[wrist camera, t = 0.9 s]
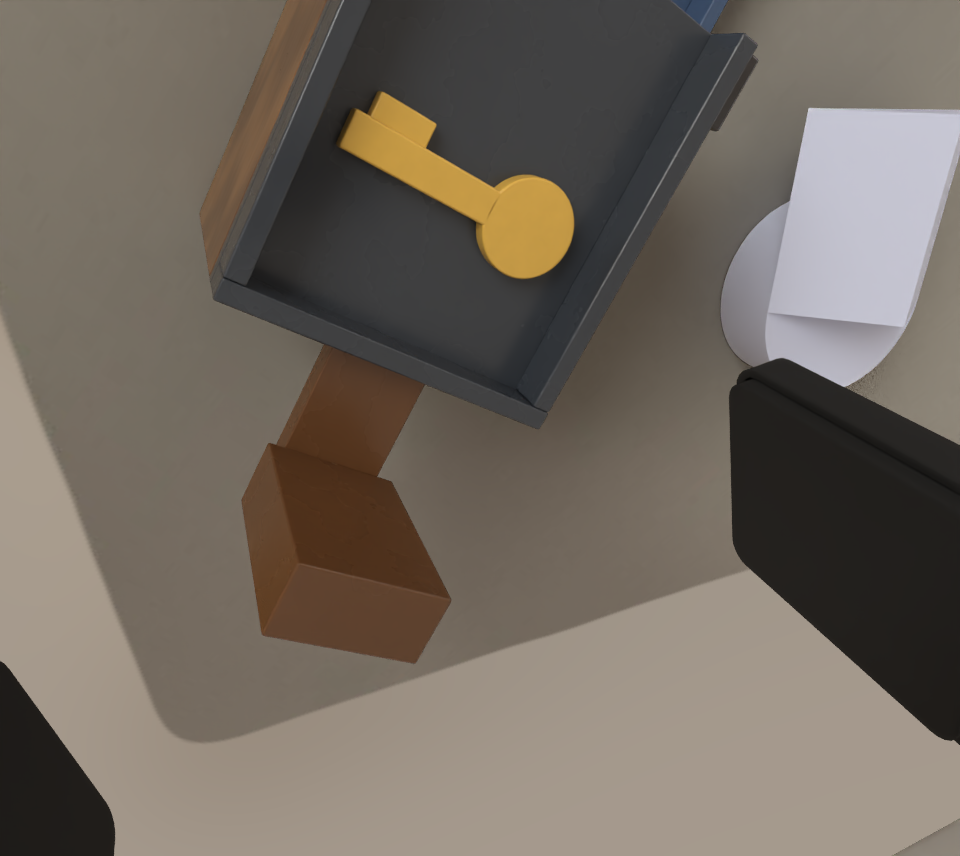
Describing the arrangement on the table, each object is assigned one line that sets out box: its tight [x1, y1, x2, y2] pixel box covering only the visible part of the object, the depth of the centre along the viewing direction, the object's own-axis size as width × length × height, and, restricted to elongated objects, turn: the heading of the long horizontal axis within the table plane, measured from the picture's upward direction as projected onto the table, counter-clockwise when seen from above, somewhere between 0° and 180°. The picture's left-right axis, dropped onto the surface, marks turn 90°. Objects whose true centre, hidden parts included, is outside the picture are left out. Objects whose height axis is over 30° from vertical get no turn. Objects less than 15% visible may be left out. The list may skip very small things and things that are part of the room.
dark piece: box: [210, 0, 758, 664], centre depth 18 cm, size 18×10×7 cm, turn 150°
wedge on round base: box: [721, 108, 960, 387], centre depth 35 cm, size 9×7×13 cm
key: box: [336, 91, 574, 279], centre depth 20 cm, size 7×3×1 cm, turn 60°
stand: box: [200, 0, 758, 276], centre depth 24 cm, size 12×12×10 cm
